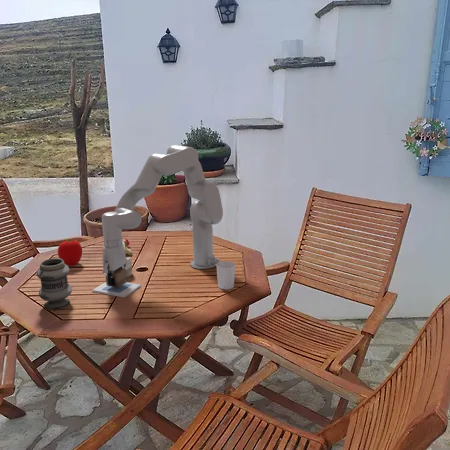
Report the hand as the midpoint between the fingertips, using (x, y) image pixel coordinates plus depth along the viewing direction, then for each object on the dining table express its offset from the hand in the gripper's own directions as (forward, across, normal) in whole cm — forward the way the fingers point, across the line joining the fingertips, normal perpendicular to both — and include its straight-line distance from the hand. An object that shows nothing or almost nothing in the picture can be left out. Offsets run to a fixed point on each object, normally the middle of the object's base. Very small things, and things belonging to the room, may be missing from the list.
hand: (116, 282), depth 185 cm
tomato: (+3, -16, -38) cm, 41 cm away
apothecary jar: (+3, +21, -13) cm, 25 cm away
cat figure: (+3, -44, -29) cm, 53 cm away
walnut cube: (+1, 0, 0) cm, 1 cm away
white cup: (+3, -19, +42) cm, 46 cm away
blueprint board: (+3, 0, 0) cm, 3 cm away
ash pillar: (+3, -14, -6) cm, 16 cm away
